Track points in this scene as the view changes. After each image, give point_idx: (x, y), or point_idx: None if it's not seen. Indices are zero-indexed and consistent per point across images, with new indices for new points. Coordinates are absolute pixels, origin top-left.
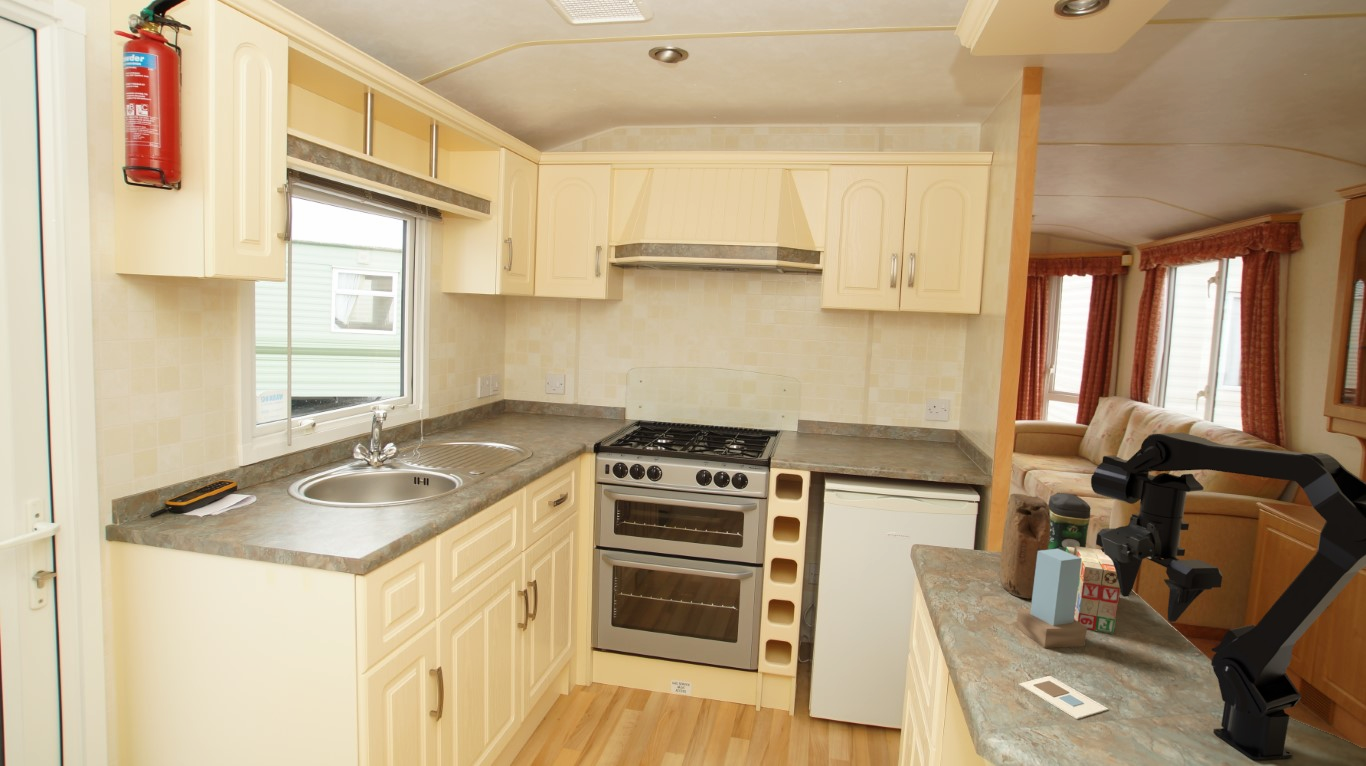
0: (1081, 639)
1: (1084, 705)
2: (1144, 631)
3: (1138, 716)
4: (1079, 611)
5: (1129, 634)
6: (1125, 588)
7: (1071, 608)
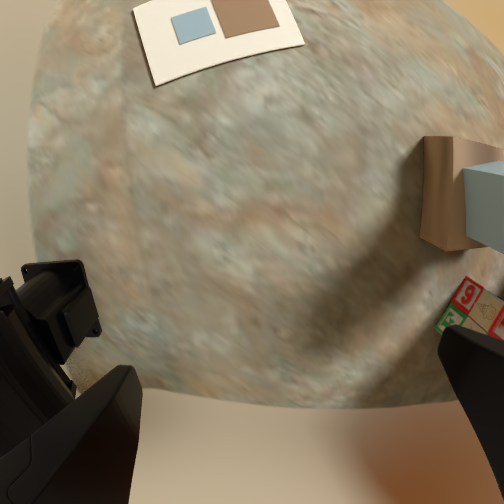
0: (429, 231)
1: (172, 41)
2: (419, 378)
3: (129, 141)
4: (486, 289)
5: (423, 352)
6: (468, 354)
7: (491, 233)
